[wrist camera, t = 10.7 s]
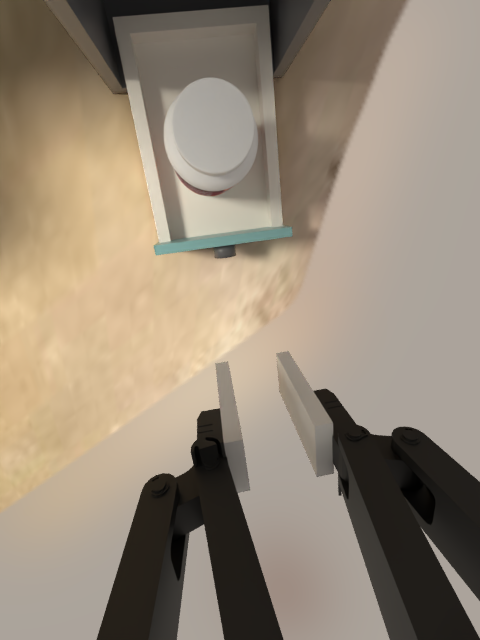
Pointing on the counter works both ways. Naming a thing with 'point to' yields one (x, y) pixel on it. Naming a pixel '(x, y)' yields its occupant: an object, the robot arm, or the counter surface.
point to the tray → (161, 90)
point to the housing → (105, 3)
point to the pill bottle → (210, 136)
